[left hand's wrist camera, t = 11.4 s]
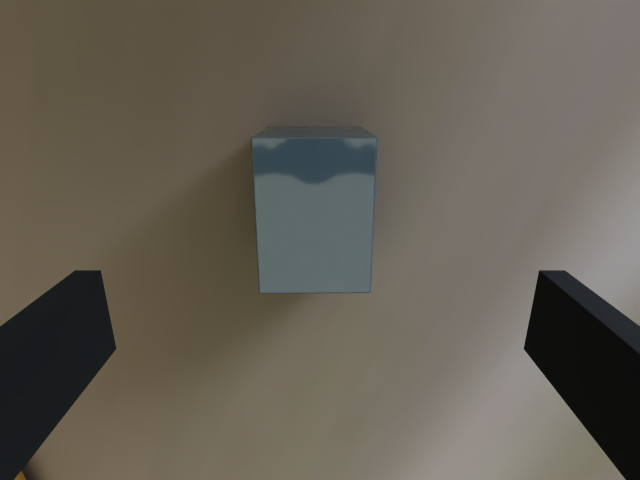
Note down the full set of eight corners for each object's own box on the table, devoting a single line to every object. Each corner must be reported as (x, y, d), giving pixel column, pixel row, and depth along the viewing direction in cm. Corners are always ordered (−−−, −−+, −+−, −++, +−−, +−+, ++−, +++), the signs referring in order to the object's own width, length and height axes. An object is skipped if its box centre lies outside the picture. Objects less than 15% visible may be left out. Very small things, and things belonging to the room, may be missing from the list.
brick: (271, 250, 32) (258, 293, 25) (266, 127, 29) (250, 137, 22) (358, 250, 32) (370, 293, 25) (362, 127, 29) (377, 137, 22)
